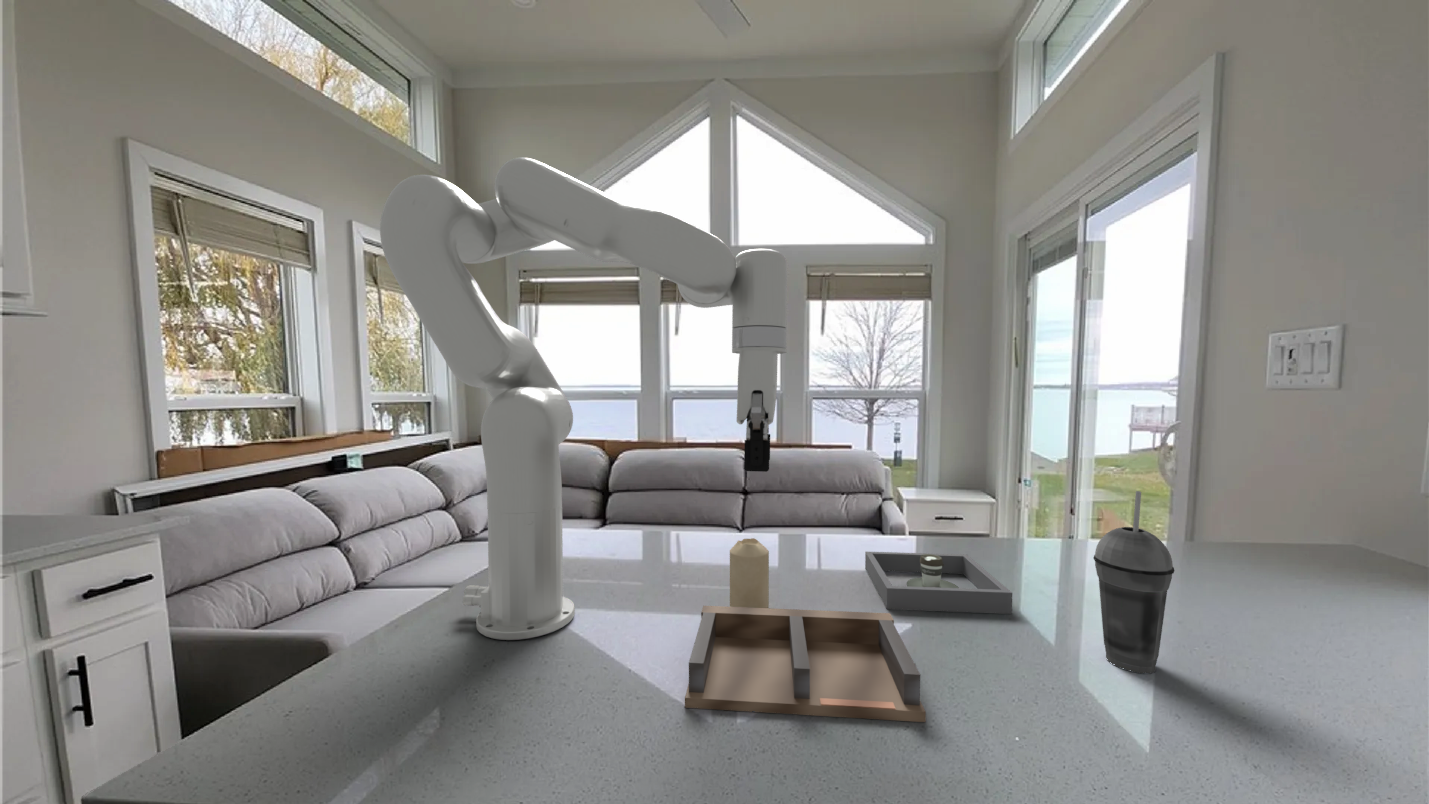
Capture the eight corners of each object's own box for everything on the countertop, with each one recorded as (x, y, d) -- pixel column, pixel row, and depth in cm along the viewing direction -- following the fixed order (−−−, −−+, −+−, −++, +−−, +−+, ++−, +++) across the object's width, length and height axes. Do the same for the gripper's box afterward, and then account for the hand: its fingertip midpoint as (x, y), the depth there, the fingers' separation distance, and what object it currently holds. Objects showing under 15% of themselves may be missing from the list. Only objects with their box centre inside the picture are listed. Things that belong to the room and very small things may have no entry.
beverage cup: (1154, 653, 63) (1158, 485, 63) (1185, 685, 56) (1190, 498, 56) (1082, 643, 66) (1085, 482, 65) (1104, 673, 59) (1107, 493, 58)
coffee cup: (977, 583, 85) (977, 552, 85) (967, 609, 75) (967, 574, 75) (900, 569, 92) (900, 540, 92) (881, 592, 82) (881, 560, 82)
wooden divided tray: (684, 707, 53) (684, 667, 53) (703, 636, 68) (703, 605, 67) (925, 722, 50) (926, 680, 50) (889, 645, 65) (890, 613, 65)
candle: (766, 620, 72) (766, 547, 72) (726, 617, 73) (726, 545, 73) (770, 604, 78) (770, 536, 77) (733, 601, 79) (733, 534, 78)
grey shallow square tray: (886, 609, 76) (886, 588, 76) (865, 568, 93) (865, 551, 93) (1012, 614, 74) (1012, 592, 74) (966, 571, 91) (967, 554, 91)
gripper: (736, 347, 83) (735, 457, 83) (726, 336, 66) (725, 475, 66) (785, 347, 82) (784, 458, 82) (787, 336, 65) (786, 476, 65)
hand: (757, 465), depth 74 cm, fingers open, 9 cm apart
